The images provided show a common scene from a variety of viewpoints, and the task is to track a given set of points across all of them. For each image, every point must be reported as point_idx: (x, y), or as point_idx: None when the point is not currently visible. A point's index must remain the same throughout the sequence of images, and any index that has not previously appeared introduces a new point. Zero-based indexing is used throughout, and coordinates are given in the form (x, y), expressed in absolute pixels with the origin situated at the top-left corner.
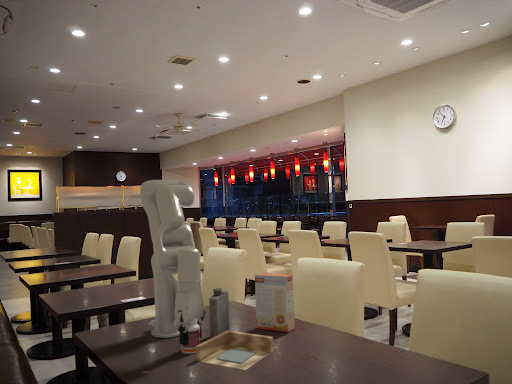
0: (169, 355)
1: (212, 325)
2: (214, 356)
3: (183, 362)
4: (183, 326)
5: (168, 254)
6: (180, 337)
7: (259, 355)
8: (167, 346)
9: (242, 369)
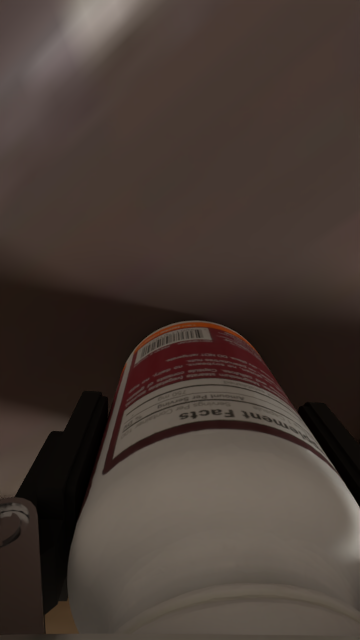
0: (63, 269)
1: None
2: None
3: (3, 443)
4: (100, 577)
5: None
6: (35, 466)
7: None
8: (256, 87)
9: None
